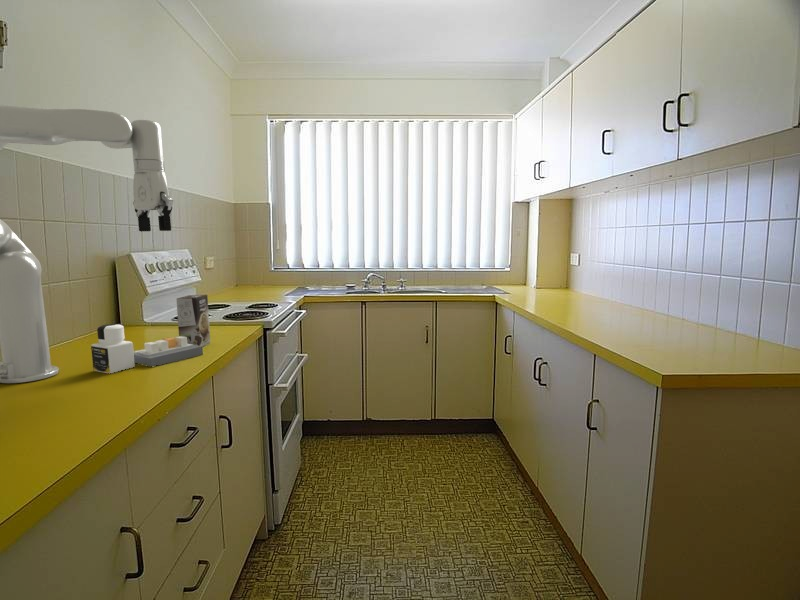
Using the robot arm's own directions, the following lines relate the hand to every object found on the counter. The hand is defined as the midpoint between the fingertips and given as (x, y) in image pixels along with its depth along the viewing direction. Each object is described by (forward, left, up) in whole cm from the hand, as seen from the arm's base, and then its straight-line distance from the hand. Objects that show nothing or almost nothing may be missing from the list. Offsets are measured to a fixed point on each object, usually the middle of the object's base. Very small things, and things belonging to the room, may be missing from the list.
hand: (155, 231), depth 137 cm
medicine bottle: (-14, +1, -37) cm, 39 cm away
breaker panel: (0, 0, -36) cm, 36 cm away
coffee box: (+14, +6, -37) cm, 40 cm away
